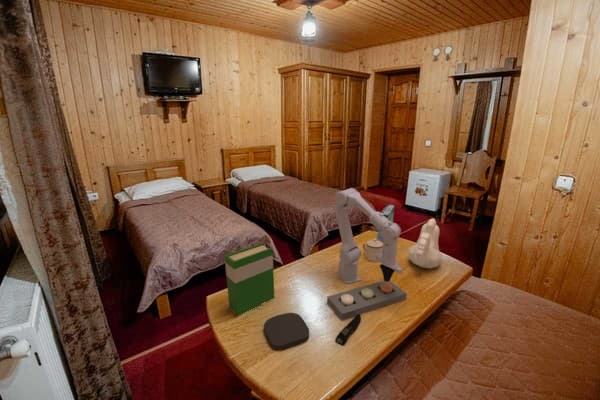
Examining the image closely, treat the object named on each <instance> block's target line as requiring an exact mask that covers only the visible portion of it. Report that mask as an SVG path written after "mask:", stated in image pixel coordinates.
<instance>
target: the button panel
mask: <svg viewBox="0 0 600 400" xmlns="http://www.w3.org/2000/svg"><path fill="white" fill-rule="evenodd" d="M382 283H388V284H390V285H392V292H391V293H388V294H384V293H383V292H382V291H381V290H380V285H381V284H382ZM365 288H368V289H371V290H372V291H373V292H374V294H373V298H372V299H369V300H365V299H364V298H363V297H362V296H361V291H362V289H365ZM344 294H349V295H351V296H353V298H354V299H353V305H349V306H344V305H343V304H342V303H341V296H342V295H344ZM407 294H408V293H407V292H406V291H404V289H402V288H401V287H399V286H397V285H396V284H395V283H394V282H392V281H391V280H390V281H388V282H386V281H384V279H383V280H380V281H377V282H373V283H369V284H365V285H362V286H359V287H356V288H353V289H352V288H351V289H349V290H345V291H341V292H339V293H335V294H331V295H327V297H326V302H327V304H328V306H329V307H330V308H331V309H332V310H333V311H334V312H335V314H336V315H337V316H338V318H339V319H340V320H341V321H345V320H348V319H350V318H351V319H352V318H354V317H355V316H356V315H357V314H360V315H363V314H366V313H369V312H372V311H375V310H378V309H381V308H384V307H387V306H390V305H394V304H396V303H399V302H402V301H405V300H407Z"/></svg>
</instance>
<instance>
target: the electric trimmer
mask: <svg viewBox="0 0 600 400" xmlns="http://www.w3.org/2000/svg"><path fill="white" fill-rule="evenodd" d="M361 320H362V317H361V314H357V315H356V316H354V317H352V318H351V320H350V321H349V322H348V324H347V325H345V326H344V328H342V330H341V331H340V332H339V333H338V334H337V336H336V337H335V340H334V341H335V343H336V344H338V345H340V347H341V346H345V345H346V342H347V339H348V338H349V337H350V335H351V334H352V333H353V332H355V331H356V330H357V328H358V326H359V324H360V323H361Z"/></svg>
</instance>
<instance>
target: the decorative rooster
mask: <svg viewBox="0 0 600 400" xmlns="http://www.w3.org/2000/svg"><path fill="white" fill-rule="evenodd" d="M439 237H440V227H439V225H437V221H436V219H435V218H431V219H429V220H428V221H427V222H426V223H424V224H423V225H422V227H421V230H420V233H419V237H418V239H417V240H416V244H414V245H412V246H411V247H409V249H408V252H407V253H408V259H409V260H410V261H411V262H412V263H413V264H414V265H415V266H417V267H420V268H423V269H428V270H429V269H433V268H438V266H439V265H440V263H441V259H442V255H441V252H440V250H439Z"/></svg>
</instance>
